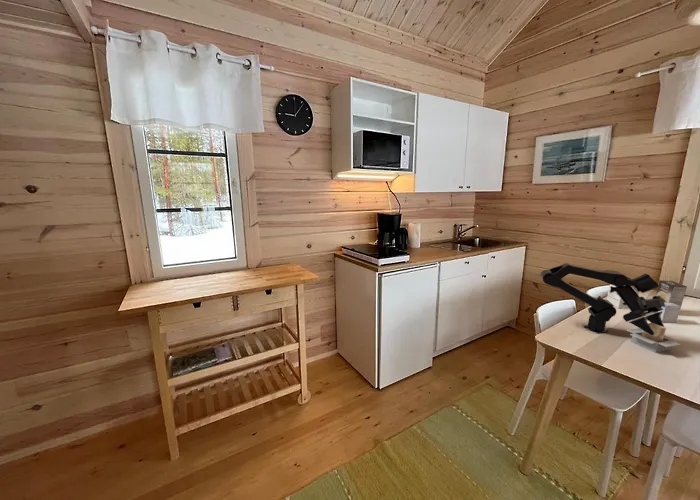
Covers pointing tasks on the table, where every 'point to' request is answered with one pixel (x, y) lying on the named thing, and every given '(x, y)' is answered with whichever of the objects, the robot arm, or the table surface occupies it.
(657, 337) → the box
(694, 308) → the table surface
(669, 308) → the medicine box
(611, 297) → the supplement box
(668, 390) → the table surface
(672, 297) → the coffee box
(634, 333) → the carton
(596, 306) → the robot arm
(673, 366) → the table surface
